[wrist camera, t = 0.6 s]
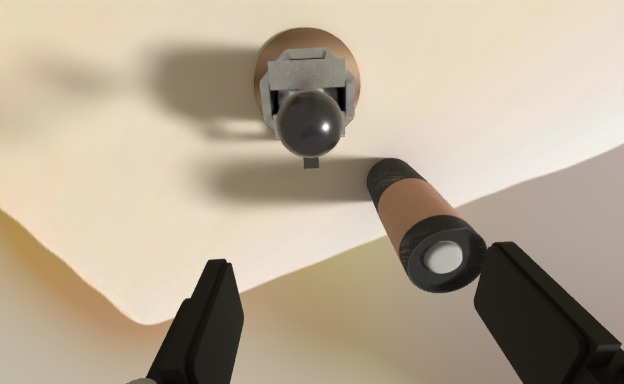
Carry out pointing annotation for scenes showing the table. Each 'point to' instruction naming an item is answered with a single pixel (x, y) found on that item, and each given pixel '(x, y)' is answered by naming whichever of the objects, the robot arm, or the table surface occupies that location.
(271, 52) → the disc
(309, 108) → the plunger
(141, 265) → the table surface
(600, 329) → the robot arm
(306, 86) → the grey slotted housing
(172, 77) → the table surface
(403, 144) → the table surface
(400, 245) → the travel mug
